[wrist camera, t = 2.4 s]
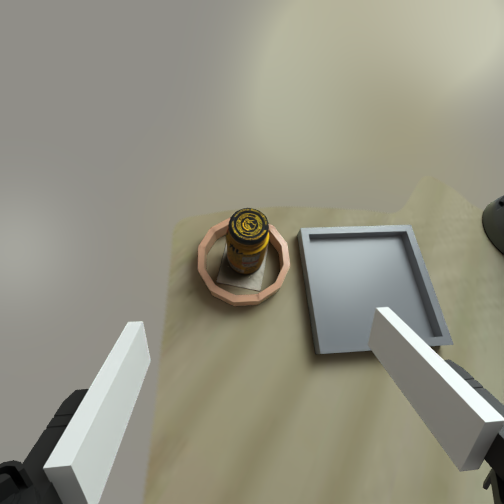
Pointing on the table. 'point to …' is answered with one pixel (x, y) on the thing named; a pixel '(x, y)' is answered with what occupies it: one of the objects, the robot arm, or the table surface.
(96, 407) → the robot arm
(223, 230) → the ring holder
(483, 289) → the table surface
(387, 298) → the tray
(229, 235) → the condiment
